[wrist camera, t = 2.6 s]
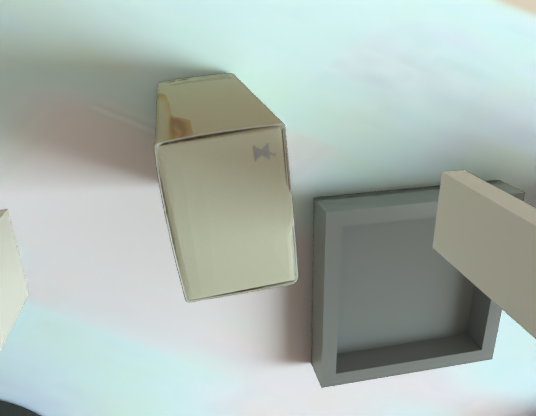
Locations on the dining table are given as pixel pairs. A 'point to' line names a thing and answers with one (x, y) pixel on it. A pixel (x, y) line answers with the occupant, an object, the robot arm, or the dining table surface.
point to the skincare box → (224, 187)
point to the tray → (391, 290)
